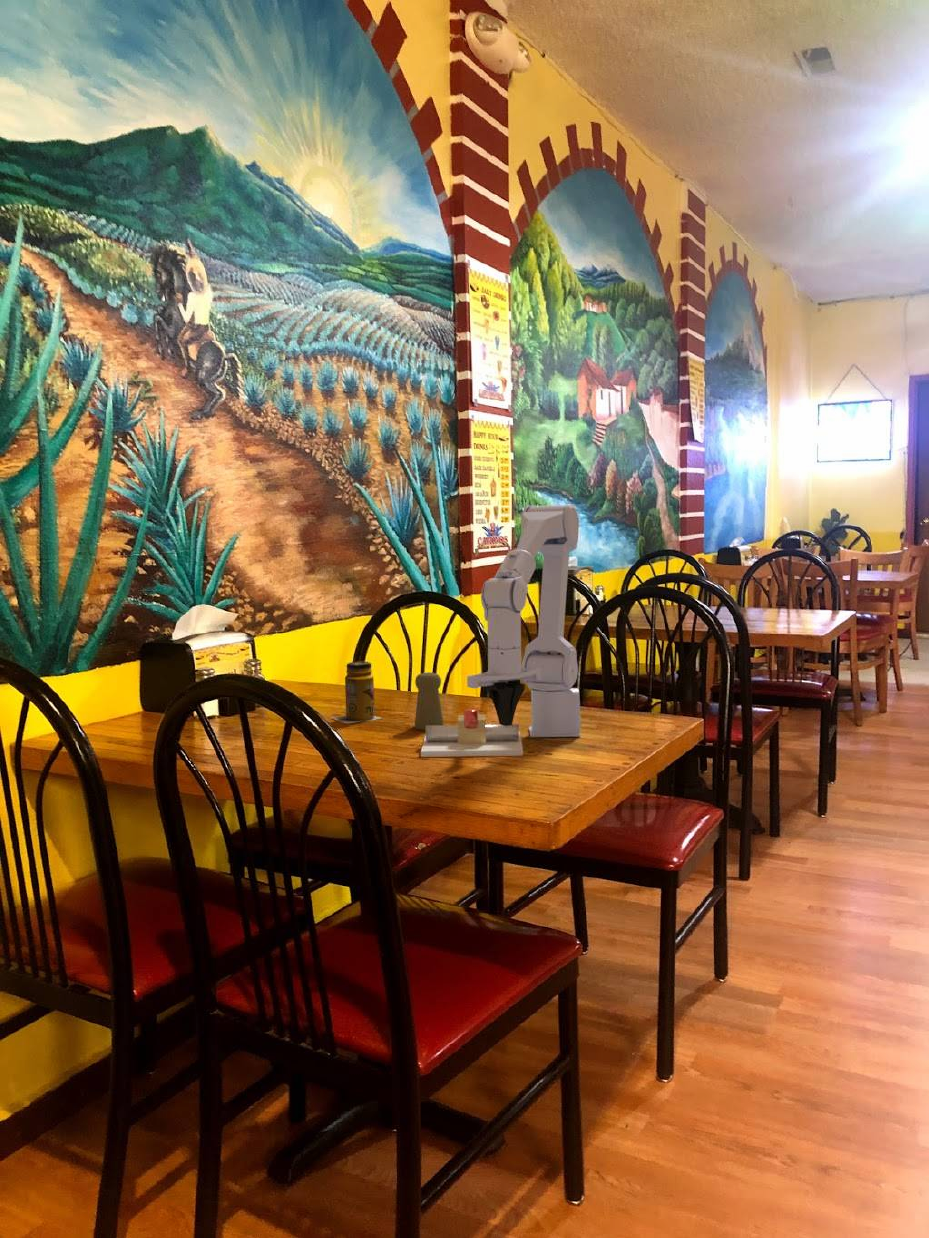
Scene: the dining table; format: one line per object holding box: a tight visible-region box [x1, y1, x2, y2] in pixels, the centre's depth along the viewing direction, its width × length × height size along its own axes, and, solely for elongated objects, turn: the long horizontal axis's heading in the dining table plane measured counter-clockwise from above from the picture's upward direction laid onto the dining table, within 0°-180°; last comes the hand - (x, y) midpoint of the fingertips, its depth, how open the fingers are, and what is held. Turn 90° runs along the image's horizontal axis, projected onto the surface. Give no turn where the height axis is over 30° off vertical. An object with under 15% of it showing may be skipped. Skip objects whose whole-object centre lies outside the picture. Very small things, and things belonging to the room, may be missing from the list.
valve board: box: [420, 731, 524, 758], centre depth 178 cm, size 18×15×1 cm
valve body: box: [425, 714, 520, 744], centre depth 178 cm, size 17×5×4 cm, turn 89°
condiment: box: [330, 661, 382, 725], centre depth 205 cm, size 7×8×12 cm
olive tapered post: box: [413, 672, 445, 731], centre depth 196 cm, size 6×6×11 cm
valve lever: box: [463, 708, 479, 729], centre depth 173 cm, size 11×2×3 cm, turn 179°
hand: (505, 724), depth 169 cm, fingers closed
